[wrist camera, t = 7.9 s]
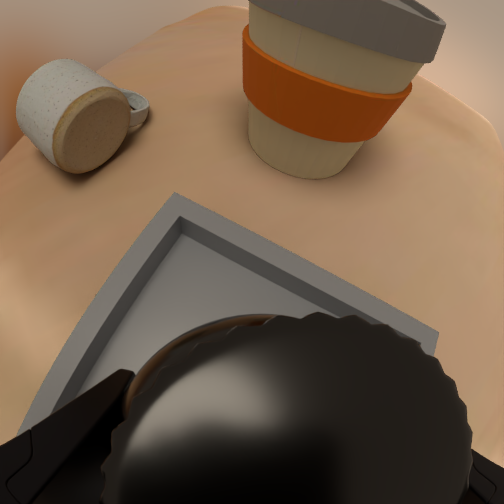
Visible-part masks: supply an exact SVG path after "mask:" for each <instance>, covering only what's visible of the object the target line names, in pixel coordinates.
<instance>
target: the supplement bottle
mask: <svg viewBox="0 0 504 504" xmlns="http://www.w3.org/2000/svg"><path fill="white" fill-rule="evenodd" d="M471 443H472V430H471V428H470V426H469V424H468V422H467V407H466V405H465V404H464V402H463V401H462V400H461V399H460V398H459V396H458V391H457V387H456V384H455V381H454V380H453V379H451V378H450V377H449V376H447V375H446V374H445V373H444V371H443V369H442V366H441V364H440V362H439V360H438V359H437V358H435V357H433V356H431V355H428V354H425V352H424V351H423V350H422V348H421V346H420V345H419V344H418V342H417V341H416V340H415V339H411V338H407V337H401V336H400V335H399V334H397V333H396V331H395V330H394V329H393V328H392V327H390V326H389V325H388V324H370V323H369V322H367V321H366V320H364V319H363V318H361V317H359V316H357V315H348V316H344V317H341V318H335V317H333V316H331V315H328V314H325V313H322V312H318V311H317V312H314V313H311V314H308V315H306V316H304V317H303V318H301V319H300V318H296V317H292V316H285V315H278V314H245V315H236V316H231V317H226V318H221V319H218V320H214V321H211V322H208V323H205V324H203V325H200V326H197V327H195V328H193V329H191V330H189V331H187V332H185V333H183V334H181V335H180V336H178V337H176V338H175V339H173V340H171V341H170V342H169V343H167V344H166V345H165V346H163V347H162V348H161V349H159V350H158V351H157V352H156V353H155V354H154V355H153V356H152V357H151V358H150V359H149V360H148V361H147V362H146V363H145V364H144V365H143V366H142V368H141V369H140V370H139V371H138V373H137V374H136V375H135V377H134V378H133V380H132V381H131V383H130V385H129V386H128V388H127V390H126V392H125V394H124V396H123V398H122V401H121V403H120V405H119V409H118V412H117V416H116V419H115V425H114V429H113V431H112V433H111V453H110V455H109V456H108V457H107V458H106V459H105V460H104V462H103V463H102V465H101V466H100V467H101V474H102V478H103V480H104V486H105V487H104V489H103V491H102V493H101V496H100V499H99V503H100V504H461V503H462V501H463V499H464V497H465V495H466V493H467V491H468V488H469V473H470V470H471V467H472V463H473V456H472V452H471Z"/></svg>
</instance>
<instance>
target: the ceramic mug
mask: <svg viewBox="0 0 504 504" xmlns="http://www.w3.org/2000/svg"><path fill="white" fill-rule="evenodd" d="M130 106H131V107H133V108H134V109H135V110H133V111H131V109H130ZM148 110H149V101H148V100H147V99H146V98H145V97H143V96H142V95H140V94H138V93H136V92H133V91H130V90H126V89H122V88H118V87H117V86H115V85H114V84H113V83H112V82H110V81H109V80H107V79H105V78H103V77H102V76H100V75H98V74H97V73H96V72H94V71H93V70H91V69H90V68H88V67H87V66H85V65H83V64H82V63H80V62H77V61H75V60H72V59H59V60H55V61H52V62H49V63H47V64H45V65H43V66H42V67H40V68H39V69H38V70H37V71H35V72H34V73H33V74H32V75H31V76H30V77H29V79H28V80H27V81H26V83H25V84H24V86H23V88H22V89H21V92H20V94H19V97H18V101H17V107H16V116H17V122H18V124H19V127H20V129H21V130H22V132H23V133H24V134H25V135H26V136H27V137H28V138H29V139H30V140H31V142H32V143H33V144H34V145H35V146H36V147H37V148H38V149H39V150H40V151H41V152H42V153H43V154H44V155H45V157H46V158H47V159H48V160H49V161H50V162H51V163H52V164H54V165H55V166H57V167H59V168H60V169H62V170H64V171H66V172H69V173H75V174H77V173H84V172H88V171H91V170H93V169H95V168H97V167H99V166H100V165H102V164H103V163H104V162H106V161H107V160H108V159H109V158H110V157H111V156H112V155H113V154H114V153H115V152H116V151H117V149H118V148H119V147H120V145H121V144H122V142H123V140H124V138H125V136H126V134H127V131H128V127H134V126H137V125H138V124H141V123H143V122H144V121H145V119H146V117H147V114H148Z"/></svg>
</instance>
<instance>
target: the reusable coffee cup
mask: <svg viewBox="0 0 504 504" xmlns="http://www.w3.org/2000/svg"><path fill="white" fill-rule="evenodd" d="M445 27H446V23H445V22H444V21H443V20H442V19H441V18H440V17H439V16H437V15H436V14H435V13H434V12H432V11H431V10H429V9H428V8H426V7H425V6H423V5H422V4H420V3H418V2H417V1H415V0H249V24H248V25H247V26H246V27H245V28H244V30H243V88H244V92H245V94H246V96H247V98H248V136H249V141H250V144H251V146H252V148H253V149H254V151H255V152H256V154H257V155H258V156H259V157H260V158H261V159H262V160H263V161H264V162H266V163H267V164H269V165H270V166H272V167H273V168H275V169H277V170H279V171H281V172H283V173H286V174H289V175H292V176H295V177H300V178H305V179H322V178H327V177H330V176H334V175H335V174H337V173H339V172H340V171H341V170H342V169H343V168H344V167H345V166H346V164H347V163H348V162H349V161H350V159H351V158H352V157H353V156H354V154H355V153H356V152H357V150H358V149H359V148H360V147H361V145H362V144H363V143H364V142H365V140H368V139H370V138H372V137H374V136H376V135H377V134H378V132H379V131H380V130H381V129H382V128H383V126H384V125H385V124H386V123H387V121H388V120H389V119H390V118H391V116H392V115H393V114H394V113H395V111H396V110H397V109H398V108H399V106H400V105H401V104H402V103H403V101H404V100H405V99H406V97H407V96H408V95H409V94H410V92H411V90H412V83H411V81H412V79H413V78H414V77H415V75H416V74H417V73H418V71H419V70H420V68H421V67H422V66H423V65H424V63H431V61H433V60H434V57H435V54H436V52H437V49H438V46H439V44H440V41H441V38H442V35H443V33H444V29H445Z"/></svg>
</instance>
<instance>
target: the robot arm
mask: <svg viewBox="0 0 504 504" xmlns="http://www.w3.org/2000/svg"><path fill="white" fill-rule="evenodd" d="M134 377H135V372H133V371H131V370H127V369H122V368H121V369H118V370H117V371H115V372H114V373H112V374H111V375H109V376H108V377H106V378H105V379H103V380H102V381H100V382H99V383H98V384H96V385H95V386H93V387H92V388H90V389H89V390H87V391H86V392H84V393H83V394H81V395H80V396H78V397H77V398H75V399H74V400H72V401H71V402H69V403H68V404H66V405H65V406H63V407H62V408H60V409H58V410H57V411H55V412H54V413H52V414H51V415H49V416H48V417H46V418H45V419H43V420H42V421H40V422H39V423H37V424H36V425H34V426H32V427H31V429H28V430H26V431H24V432H23V433H21V434H20V435H18V436H16V437H15V438H13V439H11V440H10V441H8V442H6V443H5V444H3V445H1V446H0V504H100V503H99V499H100V496H101V493H102V491H103V489H104V487H105V486H104V480H103V478H102V474H101V467H100V466H101V465H102V463H103V462H104V460H105V459H106V458H107V457H108V456H109V455H110V453H111V433H112V431H113V429H114V425H115V419H116V416H117V412H118V409H119V405H120V403H121V401H122V398H123V396H124V394H125V392H126V390H127V388H128V386H129V385H130V383H131V381H132V380H133V378H134ZM471 452H472V456H473V463H472V467H471V470H470V473H469V488H468V491H467V493H466V495H465V497H464V499H463V501H462V503H461V504H504V468H503V467H501V466H499V465H497V464H495V463H493V462H492V461H490V460H488V459H487V458H485V457H484V456H482V455H480V454H479V453H477V452H476V451H474V450H473V449H471Z"/></svg>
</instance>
